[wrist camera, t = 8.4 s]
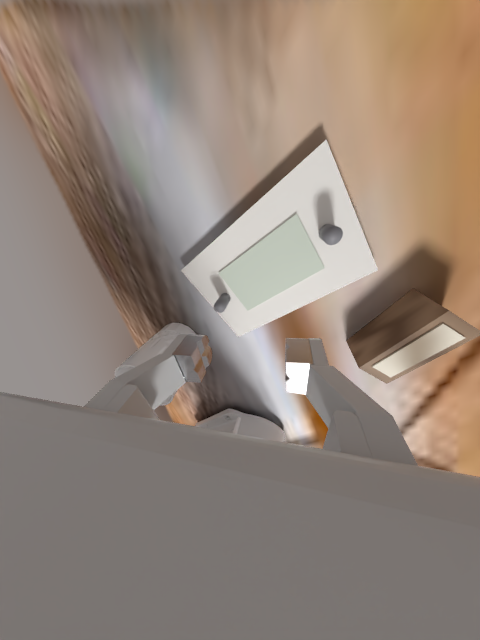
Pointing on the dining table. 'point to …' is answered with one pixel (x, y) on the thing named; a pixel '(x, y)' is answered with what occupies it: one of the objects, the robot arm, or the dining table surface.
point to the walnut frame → (408, 337)
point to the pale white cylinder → (154, 349)
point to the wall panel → (285, 248)
